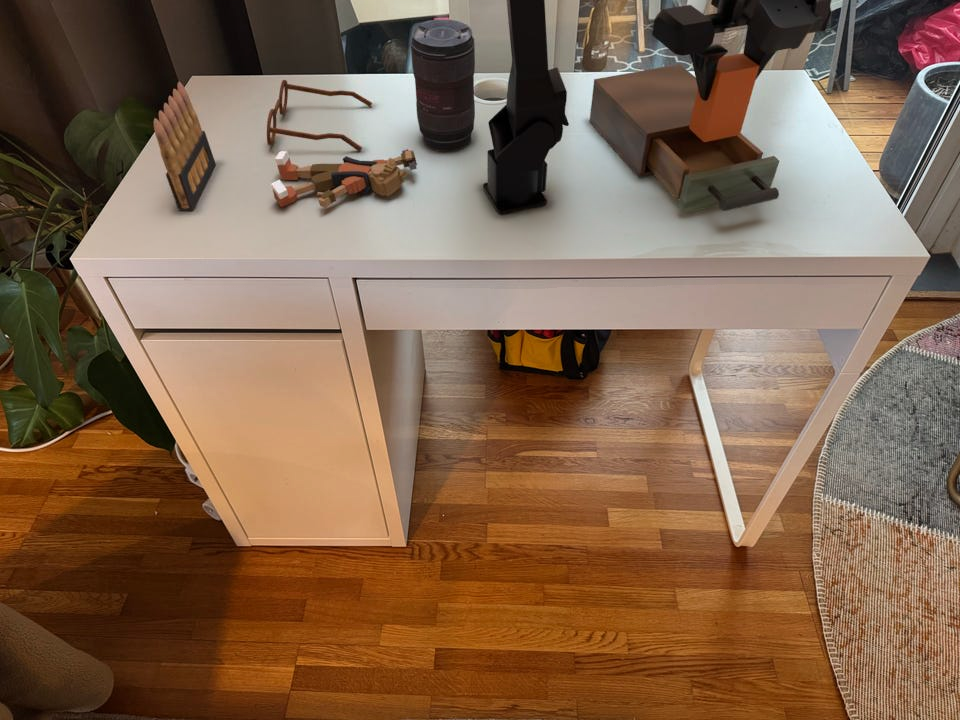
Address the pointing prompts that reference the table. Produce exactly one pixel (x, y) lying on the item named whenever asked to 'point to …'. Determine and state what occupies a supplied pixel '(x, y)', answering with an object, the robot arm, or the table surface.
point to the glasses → (299, 134)
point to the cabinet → (642, 110)
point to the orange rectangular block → (725, 99)
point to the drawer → (712, 171)
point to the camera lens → (444, 82)
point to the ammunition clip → (184, 149)
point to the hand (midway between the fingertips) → (723, 95)
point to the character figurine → (342, 177)
